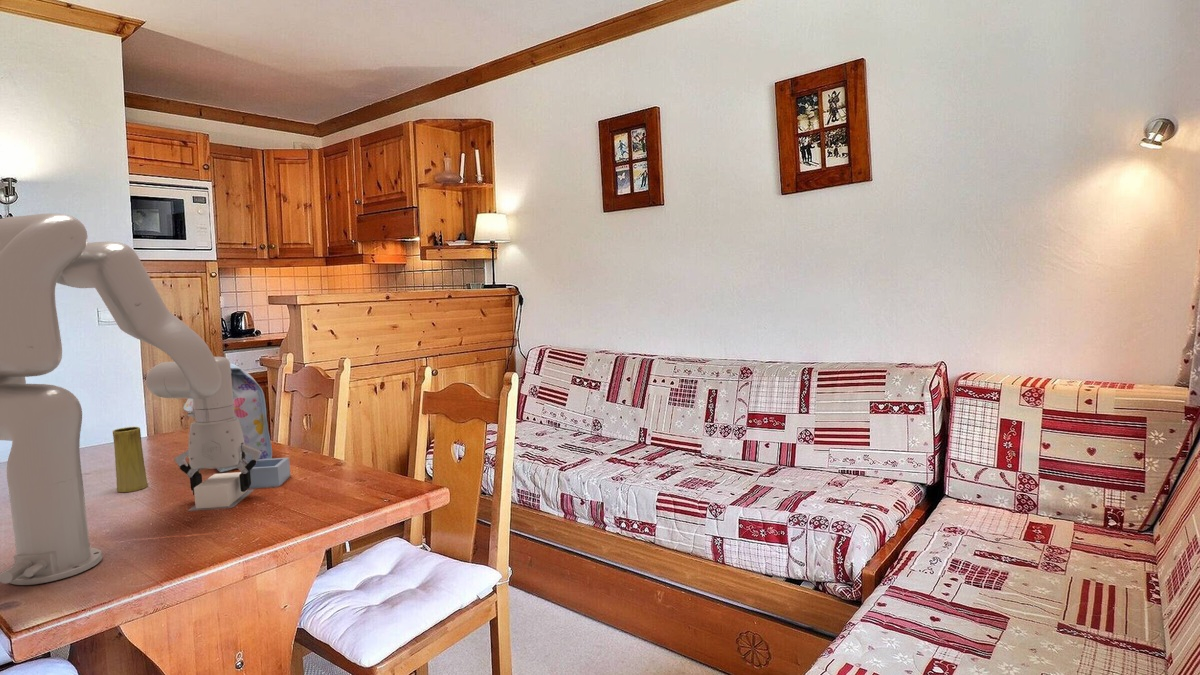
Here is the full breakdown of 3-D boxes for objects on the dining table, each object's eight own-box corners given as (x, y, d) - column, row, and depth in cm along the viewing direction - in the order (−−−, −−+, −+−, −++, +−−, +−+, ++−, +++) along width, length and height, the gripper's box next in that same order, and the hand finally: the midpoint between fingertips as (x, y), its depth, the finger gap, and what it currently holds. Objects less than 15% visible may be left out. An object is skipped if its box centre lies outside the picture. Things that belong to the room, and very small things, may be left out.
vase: (131, 493, 153) (125, 432, 152) (109, 492, 154) (103, 432, 153) (154, 484, 159) (148, 426, 158) (132, 484, 160) (126, 426, 159)
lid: (228, 506, 141) (226, 485, 140) (195, 508, 140) (193, 487, 139) (247, 491, 150) (245, 471, 150) (216, 493, 150) (214, 473, 149)
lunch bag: (185, 460, 181) (176, 363, 178) (252, 447, 192) (245, 356, 189) (204, 477, 164) (195, 370, 162) (277, 462, 175) (269, 362, 173)
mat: (233, 509, 140) (232, 507, 140) (187, 512, 139) (187, 510, 139) (254, 491, 152) (254, 489, 152) (212, 494, 150) (212, 492, 150)
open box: (279, 488, 153) (277, 466, 153) (242, 490, 152) (240, 469, 152) (290, 477, 161) (289, 457, 161) (255, 480, 160) (254, 459, 160)
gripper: (162, 420, 138) (170, 500, 140) (250, 415, 141) (257, 494, 142) (180, 413, 146) (187, 489, 148) (263, 408, 148) (269, 483, 150)
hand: (221, 491), depth 145 cm, fingers open, 9 cm apart
